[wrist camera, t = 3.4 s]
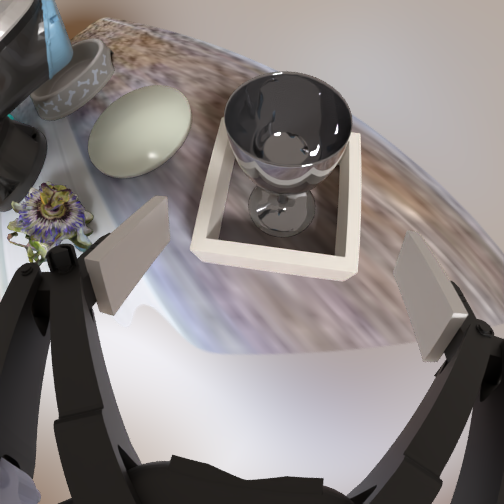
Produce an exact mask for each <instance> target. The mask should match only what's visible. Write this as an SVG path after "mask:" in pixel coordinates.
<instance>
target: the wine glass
mask: <svg viewBox="0 0 504 504" xmlns="http://www.w3.org/2000/svg"><path fill="white" fill-rule="evenodd" d="M224 121H225V127H226V131H227V136H228V140H229V143H230V146H231V149H232V152H233V154H234V156H235V158H236V160H237V162H238V164H239V166H240V167H241V169H242V170H243V171H244V173H245V174H246V175H247V177H248V178H249V179H250V180H251V181H252V182H253V183H254V184H256V185H257V186H256V187H255V188H254V190H253V191H252V193H251V195H250V198H249V204H248V205H249V213H250V216H251V219H252V221H253V222H254V223H255V225H256V226H257V227H258V228H259V229H260V230H262V231H263V232H265V233H267V234H269V235H272V236H275V237H290V236H294V235H296V234H299V233H301V232H302V231H304V230H305V229H306V228H307V227H308V226H309V225H310V223H311V222H312V220H313V218H314V214H315V207H316V206H315V200H314V197H313V194H312V193H311V191H310V190H312V189H313V188H315V187H317V186H318V185H319V184H320V183H321V182H323V181H324V180H325V179H326V178H327V177H328V176H329V175H330V173H331V172H332V171H333V169H334V168H335V167H336V165H337V164H338V162H339V161H340V159H341V157H342V155H343V153H344V150H345V148H346V146H347V143H348V140H349V138H350V135H351V130H352V115H351V111H350V108H349V106H348V104H347V103H346V101H345V99H344V98H343V97H342V96H341V94H340V93H339V92H338V91H336V90H335V89H334V88H333V87H332V86H330V85H329V84H327V83H326V82H324V81H322V80H320V79H318V78H316V77H313V76H310V75H306V74H302V73H297V72H272V73H266V74H263V75H259V76H257V77H254V78H252V79H250V80H248V81H246V82H245V83H243V84H242V85H240V86H239V87H238V88H237V89H236V90H235V91H234V92H233V94H232V95H231V96H230V98H229V100H228V102H227V104H226V107H225V111H224Z"/></svg>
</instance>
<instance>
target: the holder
mask: <svg viewBox="0 0 504 504" xmlns="http://www.w3.org/2000/svg"><path fill="white" fill-rule="evenodd" d="M234 161H235V156H234V154H233V152H232V149H231V146H230V143H229V140H228V136H227V131H226V127H225V121H224V117H222V119H221V123H220V126H219V130H218V134H217V137H216V141H215V145H214V148H213V152H212V156H211V160H210V164H209V168H208V172H207V176H206V180H205V184H204V188H203V192H202V197H201V201H200V205H199V210H198V214H197V219H196V223H195V228H194V232H193V237H192V242H191V246H190V250H191V251H192V252H193V253H194V254H195V255H196V256H197V257H198V258H199V259H200V260H201V261H202V262H208V263H214V264H221V265H228V266H235V267H242V268H249V269H256V270H263V271H270V272H277V273H284V274H291V275H299V276H306V277H314V278H321V279H329V280H336V281H345V280H347V279H348V278H350V277H352V276H353V275H355V274H357V272H358V259H359V243H360V222H361V141H360V134H358V133H353V132H351V135H350V138H349V140H348V143H347V146H346V148H345V150H344V153H343V155H342V157H341V159H340V161H339V162H338V164H337V165H340V174H339V199H338V216H337V231H336V244H335V256H333V255H326V254H318V253H311V252H304V251H297V250H290V249H282V248H275V247H268V246H260V245H253V244H245V243H238V242H230V241H223V240H218V239H219V234H220V229H221V224H222V219H223V214H224V209H225V204H226V199H227V194H228V189H229V184H230V179H231V175H232V170H233V165H234Z"/></svg>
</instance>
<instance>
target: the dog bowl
mask: <svg viewBox="0 0 504 504" xmlns="http://www.w3.org/2000/svg"><path fill="white" fill-rule="evenodd" d="M71 46H72V49H73V57H72V59H71V61H70V62H69V63H68V65H66V66H65V67H64V68H63V69H61V70H60V71H59V72H57V73H56V74H55V75H54V76H53V78H52V79H51V80H48V81H46V82H45V83H44V84H43V85H41V86H40V87H39V88H38V89H36V90H35V91H34V92H33V93H32V94H30V97H31V99H32V101H33V103H34V105H35V108H36V110H37V112H38V114H39V116H40V117H41V118H42V119H44V120H48V121H52V120H57V119H60V118H63V117H65V116H67V115H69V114H71V113H73V112H75V111H76V110H78V109H79V108H81V107H82V106H83V105H85V104H86V103H87V102H88V101H90V100H91V99H92V98H93V97H94V96H95V95H96V94H97V93H98V92H99V91H100V90H101V89H102V88H103V87H104V86H105V85H106V83H107V82H108V81H109V79H110V78H111V76H112V75H113V73H114V71H115V70H114V68H113V66H112V63H111V56H110V52H111V53H113V52H112V51H111V50H110V49H109V48H108V47H107V46H106V45H105V44H104V43H103V42H102V41H101V40H99V39H86V40H83V41H80V42H77V43H75V44H73V45H71ZM96 52H97V53H96ZM113 54H114V53H113Z"/></svg>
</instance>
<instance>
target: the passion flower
mask: <svg viewBox="0 0 504 504" xmlns="http://www.w3.org/2000/svg"><path fill="white" fill-rule="evenodd" d="M39 188H40V186H39ZM25 200H26V203H25V202H24V201H23V204H22V203H21V204H19V203H17V202H14V201H12V203H11V205H12V207H13V210H14V211H15V212H17V213H19V214H20V216H19V219H18V218H17V219H15V221H13V222H10V223H9V225H8V227H7V228H8V229H9V230H13V231H16V232H14V233H11V234H8V237H7V239H8V241H9V242H10V243H13V244H15V245H17V246H21V247H25V248H26V250H27V255H28V258H29V261H30V263H31V262H33V259H34V260H35V261H36V262H35V263H37V264H38V265H39V266H40V265H41V264H42V263H43V262H45V261H47V259H46V254H47V252H48V251H49V250H50V249H51V248H53V247H55V246H57V245H60V243H61V241H62V240H63V239H69V240H71V241H72V242H73V243H74V245H75V247H76V248H77V249H78V250H79V251H82V252H85V251H86V250H87V249H89V247H90V246H91V245H92V243H91V242H90V240H89V239H88V237H87V236H89V235H90V234H92V233H93V231H92V230H91V229H90V228H88V227H87V226H86V224H87V223H89V222H90V221H91V220H92V219H93V215H92V214H91V213H89V212H87V211H85V208H84V207H83V206H82V205H81V204H80V201H78V195H77V194H73V192H71V190H70V189H67V188H66V185H65V186H63V185H56V184H55V185H54V184H52V183H51V182H47V183H42V184H41V188H40V189H39V191H38V190H37V189H35V188H31V189H30V190H29V194H28V197H27V196H25ZM17 232H22V233H25V234H26V237H25V238H27V239H29V242H28V244H27V245H26V246H25V245H21V244H17V243H15V242H12V241H10V239H11V238H12V237H13V236H18V234H17ZM33 250H34V251H37V253H35V254H34V253H33ZM39 255H41V260H39V259H38V256H39Z"/></svg>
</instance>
